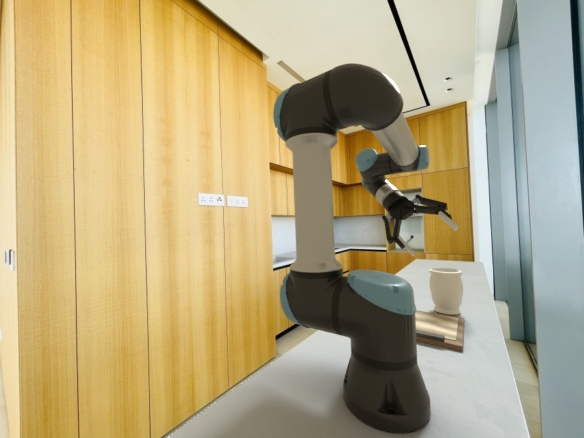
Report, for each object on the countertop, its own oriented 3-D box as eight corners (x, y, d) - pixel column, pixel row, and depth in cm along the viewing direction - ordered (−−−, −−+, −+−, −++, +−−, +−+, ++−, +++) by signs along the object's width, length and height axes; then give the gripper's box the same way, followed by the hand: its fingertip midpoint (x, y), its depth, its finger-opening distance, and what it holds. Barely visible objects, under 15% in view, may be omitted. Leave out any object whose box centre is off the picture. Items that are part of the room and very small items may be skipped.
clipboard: (462, 351, 62) (462, 342, 62) (395, 336, 71) (395, 328, 72) (464, 321, 80) (463, 314, 80) (410, 312, 89) (410, 306, 89)
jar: (463, 318, 82) (461, 273, 83) (428, 312, 89) (426, 271, 89) (464, 309, 91) (463, 268, 91) (433, 304, 97) (431, 266, 97)
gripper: (425, 186, 86) (475, 224, 71) (363, 224, 90) (398, 269, 74) (422, 171, 81) (475, 209, 66) (357, 213, 85) (392, 258, 70)
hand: (434, 241), depth 70 cm, fingers open, 13 cm apart
